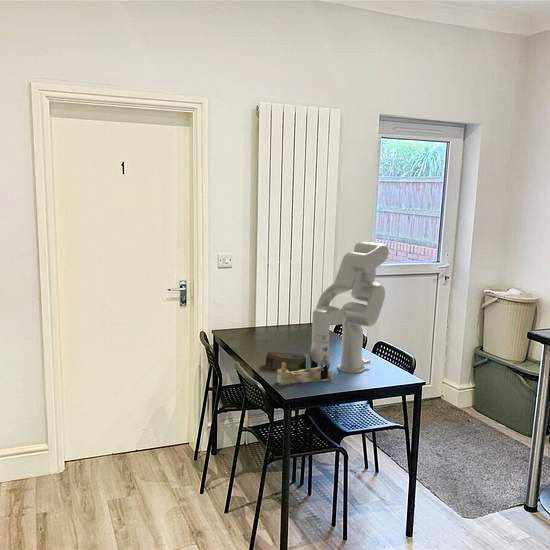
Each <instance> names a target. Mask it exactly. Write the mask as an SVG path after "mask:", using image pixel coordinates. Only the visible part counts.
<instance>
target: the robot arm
mask: <svg viewBox="0 0 550 550" xmlns="http://www.w3.org/2000/svg"><path fill="white" fill-rule="evenodd" d="M389 254H390V252H389V248H388V246H387V245H386V244H384V243H377V242H376V243H375V242H369V241H360V242H357V243H356V244H355V245H354V247H353V252H347V253H345V254H344V255H343V257H342V259H341V263H340V264H339V265H340V266H339V268H338V272H337V273H336V277H335V280H334V282H333V283H332V284H331V285H330V286H328V287H327V288H326V289H324V291H323V293H322V294H320V296H319V299H318V302H317V304H316V307H315V309H314V310H313V311H312V323H311V325H312V327H311V328H312V329H311V346H310V351H309V359H310V360H309V362H310V368H316V367H319V366H320V367H321V368H322V370H321V379H327V378H328V371H330V365H331V348H330V332H331V331H330V330H331V329H330V327H331V326H339V325H342V333H341V334H342V335H341V336H342V337H341V352H340V353H341V355H340V356H341V357H340V363H338V364H337V370H339V371H341V372H344V373H349V374H359V373H362V372H364V371H365V369H366V368H365V365H371V362H372V361H371V360H370V359H367V360H366V359H365V358H364V359H362V358H363V343H364V342H363V339H364V331H363V327H362V326H364V327H368V328H371V327H373V326H375V325H376V324H377V322H378V319H379V317H380V314H381V311H382V308H383V304H384V301H385V298H386V289H385V287H384V285H382V284H381V283H378V282H375V279H376V276H377V268H378V267H380V266H381V265H383V263H385V262H386V261H387V259H388V258H389ZM350 291H351V292H350ZM347 292H350V295H351V297H352V298H353V299H354V300H356V301H359V302H363V303H359V302H355V301H349V302H346V303H344V304H343V306H342V307H336V306H332V305H330V304H331V303H332V301H333V300H334V298H336V297H337V296H338V295H341V294H343V293H347ZM365 303H366V304H365ZM323 366H324V367H323Z"/></svg>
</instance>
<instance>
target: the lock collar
mask: <svg viewBox="0 0 550 550" xmlns="http://www.w3.org/2000/svg"><path fill="white" fill-rule="evenodd" d="M290 372H291V371H290V370H287V369H286V363H284V362H282V364H281V369H276V382H277V383H278V373H280V374H281V385H280V386H285V385H286V384H287V385H291V382H290Z"/></svg>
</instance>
